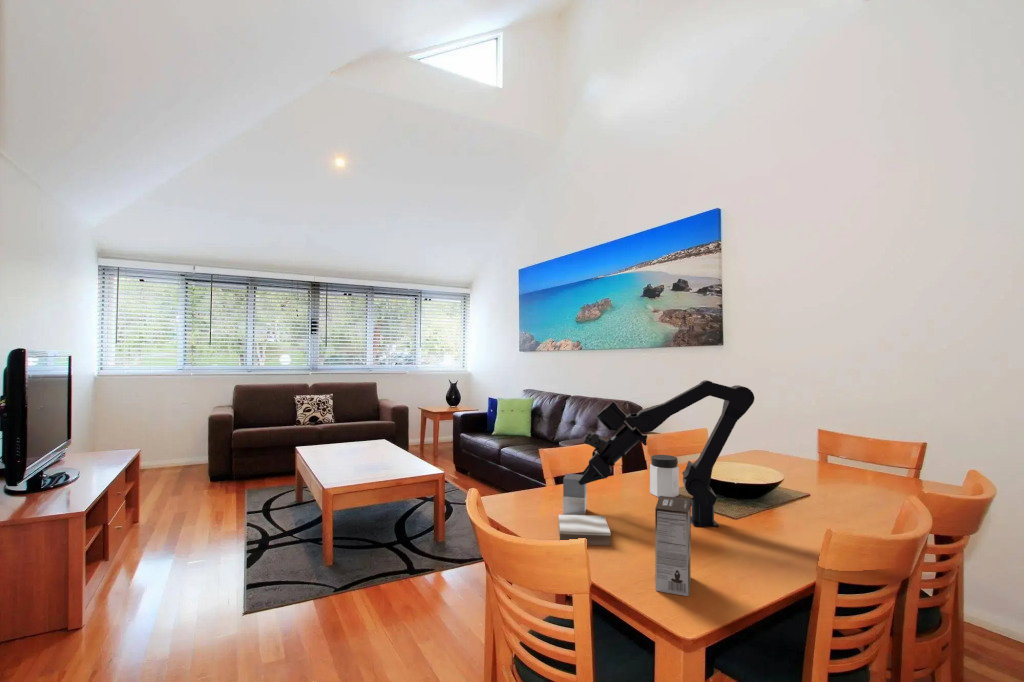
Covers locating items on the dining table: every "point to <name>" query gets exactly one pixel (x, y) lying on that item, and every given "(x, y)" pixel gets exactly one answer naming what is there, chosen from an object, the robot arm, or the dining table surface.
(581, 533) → the stand
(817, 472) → the dining table surface
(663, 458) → the jar
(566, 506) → the block
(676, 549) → the coffee box
